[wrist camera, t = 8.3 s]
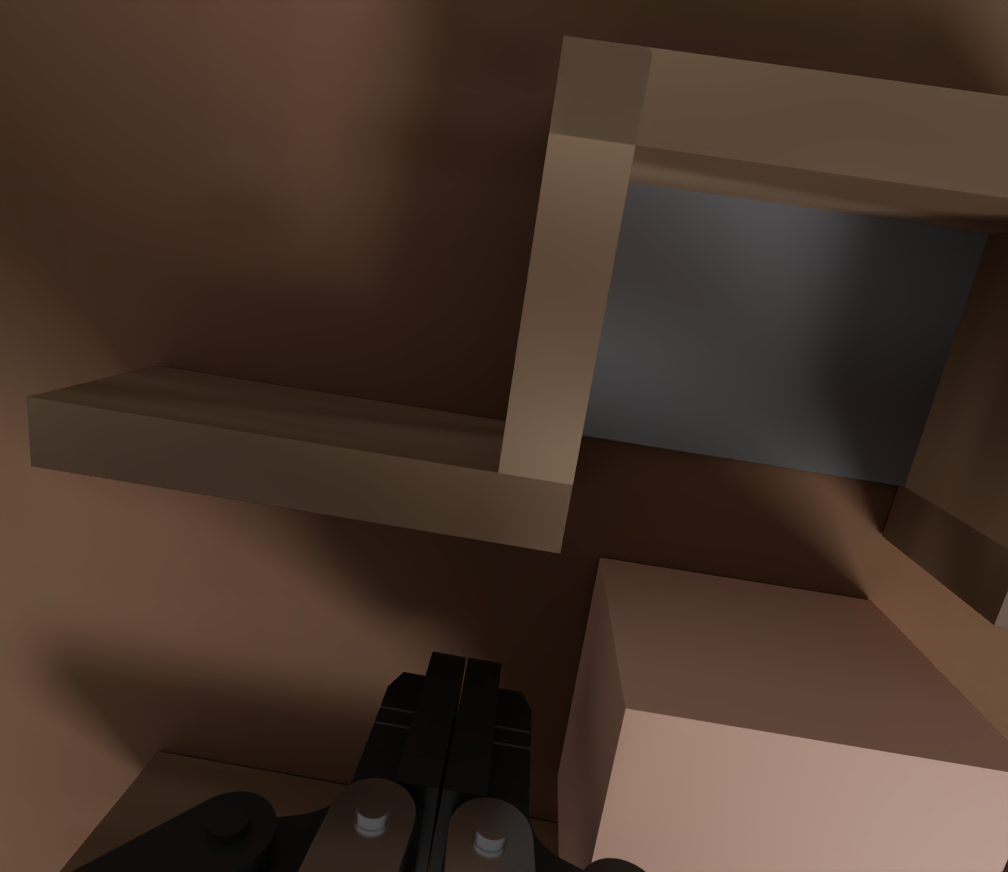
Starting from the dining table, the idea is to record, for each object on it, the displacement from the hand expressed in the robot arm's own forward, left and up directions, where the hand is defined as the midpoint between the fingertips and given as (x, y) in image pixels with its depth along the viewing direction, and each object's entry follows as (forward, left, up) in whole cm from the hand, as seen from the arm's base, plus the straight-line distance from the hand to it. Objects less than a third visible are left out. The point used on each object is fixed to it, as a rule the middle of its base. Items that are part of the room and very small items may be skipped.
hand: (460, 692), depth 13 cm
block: (0, +6, -2) cm, 6 cm away
